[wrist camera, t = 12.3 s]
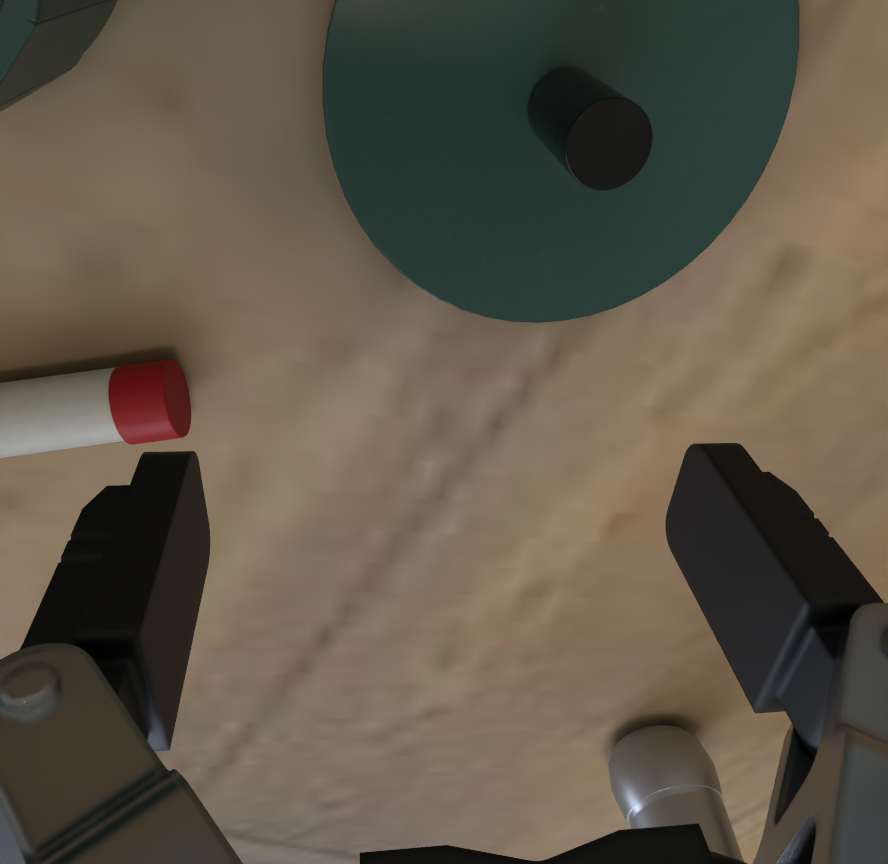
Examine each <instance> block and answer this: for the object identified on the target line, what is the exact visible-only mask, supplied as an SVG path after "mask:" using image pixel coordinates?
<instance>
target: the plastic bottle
mask: <svg viewBox="0 0 888 864" xmlns="http://www.w3.org/2000/svg"><path fill="white" fill-rule="evenodd" d="M609 775H610V782H611V789H612V792H613V795H614V797H615V799H616V801H617V804H618V806H619V808H620V810H621V812H622V815H623V816H624V818H625V820H626V822H627V824H628V825H629V827H630V828H631V829H639V828H650V827H662V826H673V825H685V824H696V823H699V825H700V827H701V830H702V832H703V835H704V837H705V840H706V843H707V845H708V848H709V850H710V851H712V852H716V853H719V854H722V855H726V856H729V857H732V858H735V859H738V860H740V861H743V862H744V860H743V858H742V855H741V852H740V849H739V846H738V843H737V840H736V837H735V835H734V832H733V829H732V826H731V823H730V820H729V817H728V814H727V812H726V809H725V806H724V803H723V796H722V791H721V787H720V783H719V779H718V776H717V773H716V769H715V766H714V763H713V761H712V760H711V758H710V757H709V755H708V754H707V752H706V750H705V749H704V747H703V746H702V744H701V743H700V741H699V740H698V739H697V738H695V737H694V736H693V735H691V734H690V733H688V732H687V731H686V730H684V729H682V728H680V727H676V726H671V725H656V726H650V727H646V728H642V729H639V730H637V731H634V732H632V733H630V734H628V735H627V736H625V737H624V738H622V739H621V740H620V741H619V742H618V743H617V744H616V745H615V747H614V748H613V751H612V754H611V757H610V761H609Z"/></svg>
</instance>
